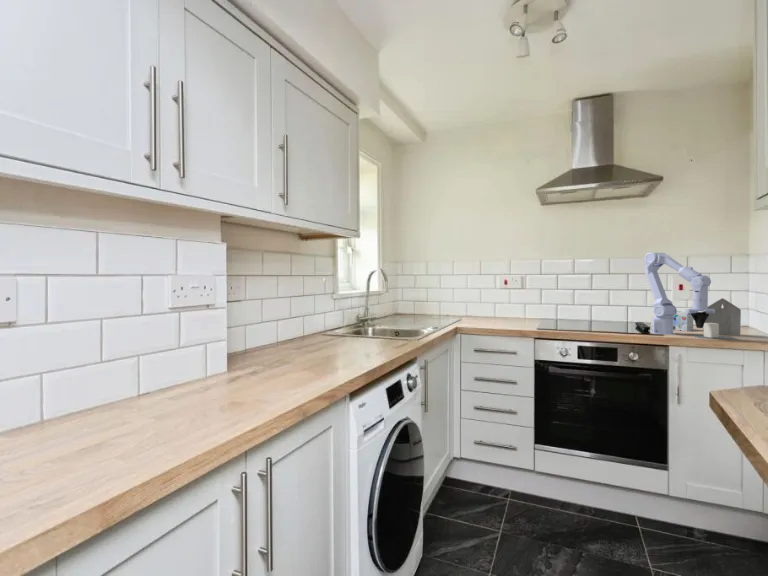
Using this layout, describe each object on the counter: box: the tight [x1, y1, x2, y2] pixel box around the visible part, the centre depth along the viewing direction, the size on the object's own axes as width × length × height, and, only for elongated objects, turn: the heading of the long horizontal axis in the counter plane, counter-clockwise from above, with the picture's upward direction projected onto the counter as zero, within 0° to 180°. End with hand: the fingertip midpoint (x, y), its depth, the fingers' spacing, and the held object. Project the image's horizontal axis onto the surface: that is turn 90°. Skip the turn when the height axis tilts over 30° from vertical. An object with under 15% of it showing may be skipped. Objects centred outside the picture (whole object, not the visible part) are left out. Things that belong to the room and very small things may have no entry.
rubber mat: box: [691, 334, 740, 341], centre depth 195 cm, size 16×12×1 cm
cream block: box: [703, 323, 720, 338], centre depth 194 cm, size 4×4×7 cm
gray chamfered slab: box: [702, 298, 742, 337], centre depth 208 cm, size 16×8×19 cm, turn 77°
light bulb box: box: [673, 310, 694, 332], centre depth 225 cm, size 11×7×11 cm, turn 27°
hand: (699, 327), depth 193 cm, fingers closed
